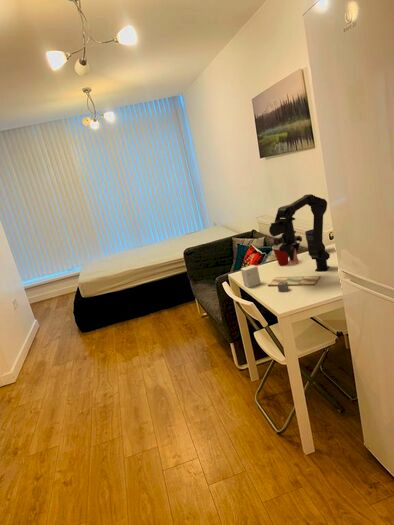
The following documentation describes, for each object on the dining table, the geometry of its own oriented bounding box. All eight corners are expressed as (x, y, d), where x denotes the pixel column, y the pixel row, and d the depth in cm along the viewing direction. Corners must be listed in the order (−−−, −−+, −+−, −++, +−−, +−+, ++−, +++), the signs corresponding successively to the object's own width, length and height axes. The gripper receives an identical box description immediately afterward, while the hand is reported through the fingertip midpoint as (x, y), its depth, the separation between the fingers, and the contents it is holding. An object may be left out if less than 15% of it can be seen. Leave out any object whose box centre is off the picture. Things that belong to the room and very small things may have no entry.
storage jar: (308, 252, 254) (305, 230, 251) (324, 250, 251) (321, 227, 247) (308, 256, 245) (304, 234, 242) (324, 254, 242) (320, 231, 238)
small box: (256, 281, 222) (252, 264, 220) (261, 283, 217) (257, 266, 215) (244, 286, 220) (240, 268, 217) (248, 288, 215) (245, 270, 212)
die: (281, 289, 202) (280, 281, 201) (288, 288, 200) (287, 281, 199) (278, 292, 199) (277, 284, 198) (286, 291, 197) (284, 284, 196)
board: (275, 278, 220) (275, 277, 220) (320, 276, 206) (320, 275, 206) (267, 286, 210) (267, 285, 210) (314, 285, 196) (314, 283, 196)
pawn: (291, 260, 208) (288, 246, 206) (299, 260, 205) (297, 245, 203) (288, 263, 204) (285, 248, 202) (296, 263, 201) (294, 248, 199)
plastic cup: (293, 265, 236) (290, 246, 233) (275, 268, 238) (272, 249, 235) (292, 260, 246) (289, 242, 243) (275, 263, 248) (271, 245, 245)
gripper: (280, 227, 212) (285, 254, 216) (267, 237, 198) (272, 265, 202) (299, 225, 206) (304, 252, 210) (287, 235, 191) (293, 264, 195)
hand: (293, 259), depth 204 cm, fingers closed on pawn, 4 cm apart
